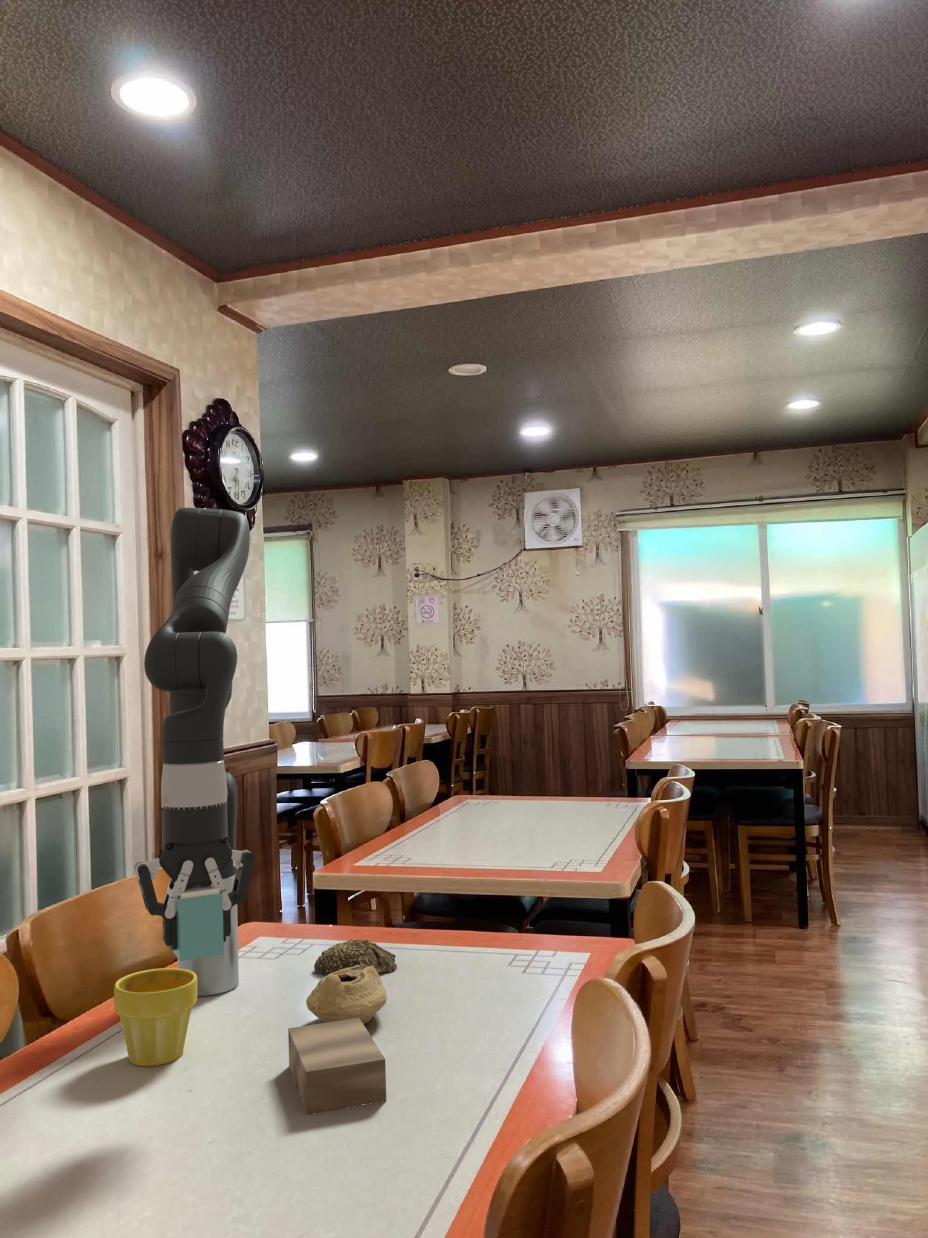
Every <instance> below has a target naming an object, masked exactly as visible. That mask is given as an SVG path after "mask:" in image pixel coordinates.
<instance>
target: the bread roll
mask: <svg viewBox="0 0 928 1238" xmlns="http://www.w3.org/2000/svg"><path fill="white" fill-rule="evenodd" d="M355 965H367V966H373V967H374V968H375V969H376V971H377V973H378V974H379V975H380V974H381V973H392V972H391V971H393V972H395V971H394V970H396V971H397V968H398V966H397V964H396V955H395V954H394V953H391V952H390V951H388V950H387V949H384V948H382V947H381V946H380V945H378V944H377V943H375V942H373V941H369V940H368V939H366V940H365V939H363V940H362V939H360V938H358V939H349V940H347V941H343V942H338V943H335V944H334V945H332V946H330V947H329V948H327V949H324V951H322V952H321V955H319V956H318V958H317V959H316V960H315V963H314V965H313V968H314V969H313V970H314V971H315V972H316V973H317V974H319V975H321V976H324V977H325V976H327V975H329V974H331V973H333V972H336V971H339V970H341V969H345V968H350V967H354V966H355ZM385 971H387V972H385Z"/></svg>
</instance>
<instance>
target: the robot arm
mask: <svg viewBox="0 0 928 1238" xmlns="http://www.w3.org/2000/svg"><path fill="white" fill-rule="evenodd" d="M171 523H172V524H171V531H170V558H171V559H170V560H171V584H172V585H171V586H172V588H171V589H172V591H171V592H172V612H171V615H170V616H168V618H167V619H166V620H165V622H164V623H163V624H162V625H161V626H160V627H159V628H158V629H157V630H156V632H155V634H153V636H152V637H151V639H150V640H149V643H148V645H147V648H146V650H145V654H144V661H143V665H144V667H143V668H144V672H145V675H146V678H147V680H148V681H149V683H150V684H151V685H152V686H153V687H154V688H155V689H157V690H160V691H161V692H168V693H169V714H168V715H167V716H165V718H164V719H163V723H162V729H161V730H162V731H161V732H162V734H161V735H162V763H163V764H162V772H161V773H162V774H161V782H160V783H161V784H160V788H161V789H160V794H161V795H160V796H161V797H160V798H161V799H160V800H161V850H160V851H159V853H158V857H156V858H154V859H151V860H148V861H144V862H143V861H137V862H136V863H135V865H134V871H135V875H136V878H137V881H138V885H139V889H140V893H141V896H142V899H143V903H144V906H145V907H144V908H145V909H146V911H147V912H148V914H150V916H159V917H161V918H162V941H163V942H164V944H165V945H166V947H168V948H169V949H170V951H171V952H173V951H172V950H177V918H176V917H175V913H176V911H177V898H180V893H182V892H184V890H185V889H189V888H193V887H195V886H211V884H212V885H213V887H214V888H219V892H221V893H222V894H223V941H224V954H223V955H216V956H210V957H204V958H198V959H192V960H186V961H179V959H178V958H177V968H179V969H186V970H190V971H192V972H194V973H195V974H196V975H197V997H201V996H202V997H203V996H213V995H218V994H223V993H226V992H228V991H231V990H233V989H235V988H237V987H238V986H239V984H240V978H239V977H240V976H239V972H240V971H239V928H238V927H239V926H238V924H239V922H238V904H240V903H241V904H242V903H244V902H245V901H246V900H247V896H248V891H249V887H250V886H249V885H250V881H251V877H252V873H253V867H254V862H255V854H254V853H253V852H251V851H250V850H248V849H246V848H244V849H241V850H237V820H238V819H237V818H238V817H237V815H238V793H237V783H236V781H235V778H234V777H233V775H232V774H231V773H230V772H229V771H228V772H227V771H226V767H225V760H224V758H225V757H224V754H225V753H224V752H225V750H224V747H225V746H224V727H225V726H224V723H225V716H226V715H225V714H226V709H227V708H228V706H229V704H230V702H231V698H232V693H233V680H234V676H235V675H236V668H237V664H238V650H237V646H236V644H235V643H234V640H233V639H232V638H231V637H230V636H229V635H228V634H227V628H228V622H229V616H230V610H231V608H230V607H231V604H232V600H233V597H234V595H235V593H236V590H237V588H238V586H239V584H240V582H241V579H242V576H243V574H244V572H245V568H246V566H247V562H248V560H249V559H248V558H249V553H250V552H249V551H250V546H251V545H250V543H251V538H250V537H251V535H250V534H251V532H250V531H251V530H250V525H249V520H248V518H247V516H245V515H244V514H243V513H242V512H239V511H234V510H229V509H215V508H205V507H204V508H203V507H202V508H201V507H188V506H187V507H180V508H179V509H177V510H176V511H175V513H174V515H173V518H172V522H171ZM195 572H196V573H195ZM160 868H161V869H162V870H163V871H164V872H165V874H166V875H167V876H168V877H169V882H168V884H167V888H166V891H165V897H164V899H163V902H158V898H157V894H156V891H155V887H154V883H153V881H154V880H155V879H157V876H158V870H159V869H160ZM179 887H180V888H179Z"/></svg>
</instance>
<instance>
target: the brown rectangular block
mask: <svg viewBox="0 0 928 1238" xmlns="http://www.w3.org/2000/svg"><path fill="white" fill-rule="evenodd" d="M287 1030H288V1032H287V1033H288V1069H290V1072H291V1075H292V1078H293V1081H294V1084H295V1086H296V1088H297V1092H298V1094H299V1098H300V1099H302V1100H301V1102H302V1105H303V1109H304V1110H306V1111H305V1113H306V1115H307V1116H309V1115H314V1114H313V1113H316V1114H321V1113H326V1112H327V1113H328V1112H332V1111H337V1110H338V1111H339V1110H344V1109H348V1108H347V1107H350V1108H355V1107H354V1106H356V1107H359V1106H360V1105H361V1106H363V1105H362V1104H367V1105H371V1104H370V1103H373V1104H376V1103H375V1102H378V1103H384V1102H387V1075H386V1074H387V1073H386V1058H385V1057H384V1055H383V1054H382V1052H381V1050H380V1049H379V1047H378V1045H377V1044H376V1042H375V1040H374V1039H373V1037H372V1035H371V1034H370V1033H369V1030H367V1028H366V1026H365V1024H363V1023H362V1021H361V1020H360V1018H355V1019H348V1020H342V1021H335V1022H328V1023H324V1022H321V1023H315V1024H310V1025H303V1026H302V1025H301V1026H296V1027H289V1028H288V1027H287ZM383 1101H384V1102H383Z"/></svg>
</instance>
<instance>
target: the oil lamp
mask: <svg viewBox="0 0 928 1238" xmlns="http://www.w3.org/2000/svg"><path fill="white" fill-rule="evenodd" d="M387 995H388V994H387V990H386V989H385V987H384V985H383V982H382V979H381V977H380V974H378V973H377V971H376V969H375V968H374V967H373V966H367V965H355V966H354V967H350V968H345V969H341V970H339V971H336V972H333V973H331V974H329V975H327V976H324V977H322V978H321V979H320V980H318V982H317V984H316V986H315V987H314V988H313V989H312V990H311V992H310V994H309V995H308V996H307V998H306V1000H305V1004H306V1007H307V1010H308V1011H310V1012H311V1013H312V1014H313V1015H314V1016H316V1018H318V1019H319V1020H320V1021H322V1023H328V1022H335V1021H342V1020H348V1019H355V1018H360V1020H361V1021H362V1023H363V1025H366V1024H367V1023H369V1022H370V1021H371V1020H372V1018H373V1017H374V1016H375V1015H376V1014H377V1013H378V1012H379V1011H380V1010H381V1009H382V1008H383V1007H384V1006H385V1005H386V1003H387V1000H388V999H387V998H388V997H387Z"/></svg>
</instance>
